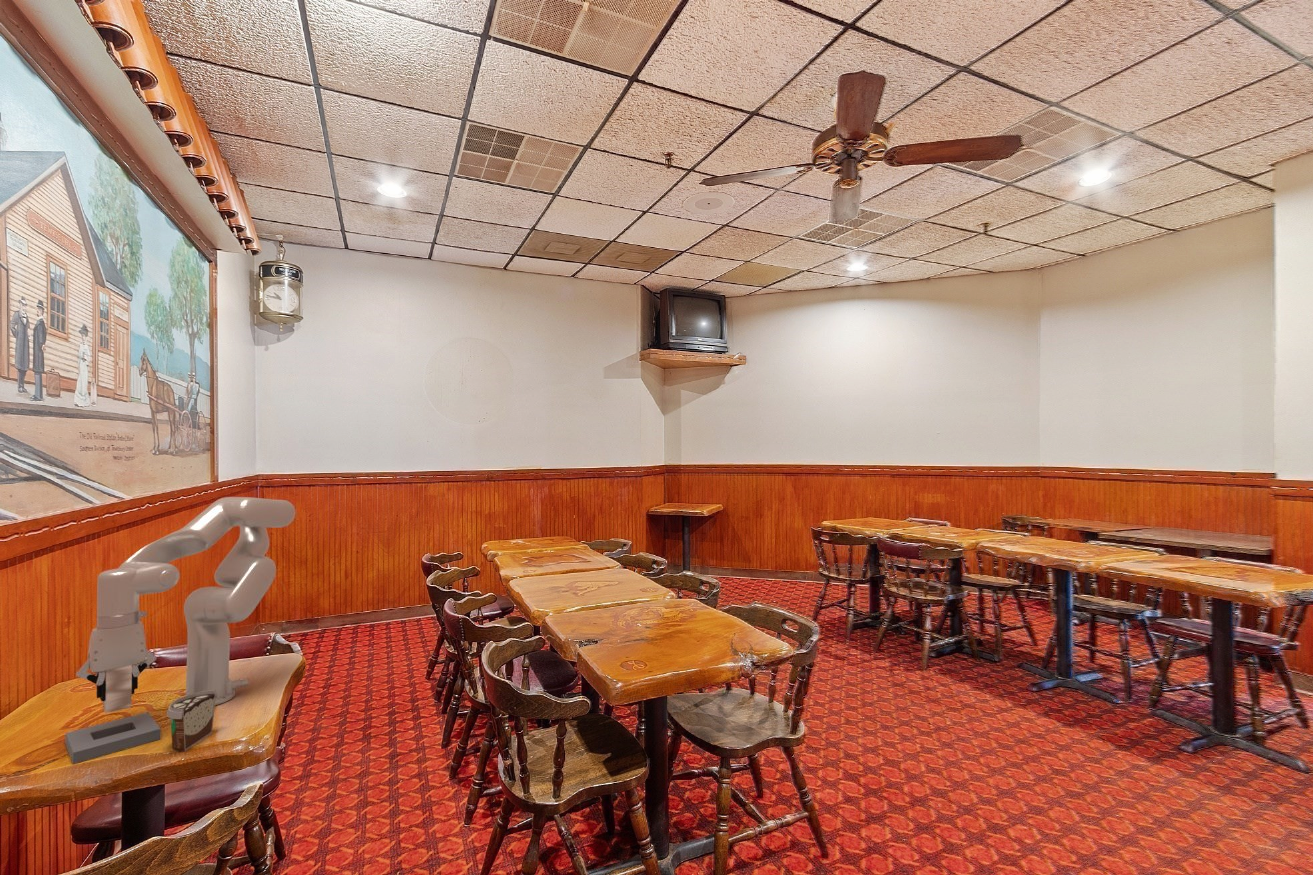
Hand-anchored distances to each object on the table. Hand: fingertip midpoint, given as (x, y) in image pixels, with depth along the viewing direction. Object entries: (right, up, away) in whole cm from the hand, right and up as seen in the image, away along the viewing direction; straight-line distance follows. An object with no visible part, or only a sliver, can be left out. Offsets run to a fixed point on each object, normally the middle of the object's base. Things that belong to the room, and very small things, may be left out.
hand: (117, 695), depth 140 cm
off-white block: (0, -3, 0) cm, 3 cm away
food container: (+18, -11, -2) cm, 21 cm away
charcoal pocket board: (0, -11, -1) cm, 11 cm away
